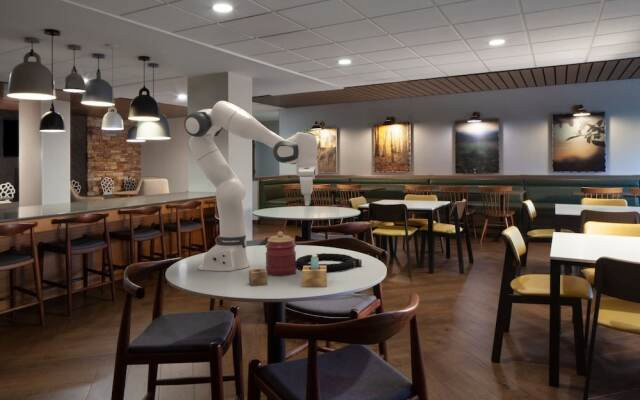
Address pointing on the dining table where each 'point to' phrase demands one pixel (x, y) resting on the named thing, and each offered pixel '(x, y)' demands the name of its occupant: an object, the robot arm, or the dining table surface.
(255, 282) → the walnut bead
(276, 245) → the canister
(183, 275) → the dining table surface
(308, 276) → the wooden square frame
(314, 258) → the teal peg
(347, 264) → the cable lock
